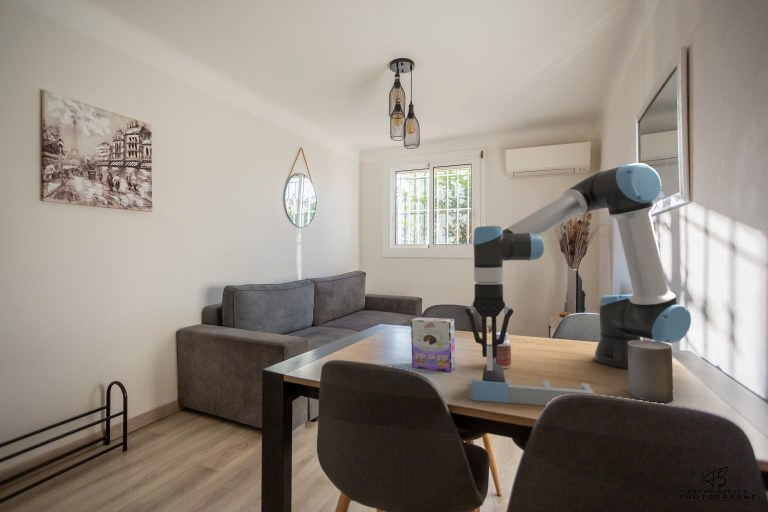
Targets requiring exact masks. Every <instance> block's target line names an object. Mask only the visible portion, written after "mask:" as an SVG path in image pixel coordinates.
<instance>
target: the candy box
mask: <svg viewBox="0 0 768 512" xmlns="http://www.w3.org/2000/svg"><path fill="white" fill-rule="evenodd" d="M410 334H411V335H410V336H411V338H410V340H411V365H412V366H411V368H413V369H414V368H415V369H422V370H424V369H425V370H431V371H432V370H433V371H443V372H452V371H453V370H454V369H455V368H456V341H455V339H456V338H455V337H456V336H455V335H456V333H455V319H454V318H438V317H421V316H418V317H414V318H412V319H411V320H410Z"/></svg>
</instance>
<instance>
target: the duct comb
mask: <svg viewBox="0 0 768 512" xmlns="http://www.w3.org/2000/svg"><path fill="white" fill-rule="evenodd" d="M591 387H592V386H590V384H589V383H585V382H582V383H581V389H577V388H565V387H563V388H562V387H552V386H551V384H550V381H549V380H542V386H539V385H538V386H537V385H536V386H534V385H522V384H513V383H512V378H511V377H505V383H499V382H486V381H482V380H476V375H469V379H468V400H472V401H478V402H479V401H482V402H492V403H493V402H494V403H503V404H509V403H511V404H519V405H520V404H523V405H531V406H533V405H534V406H545V405H546V404H547V403H548V402H549V401H551V400H552V399H553V398H555V397H557V396H560V395H565V394H595V393H596V392H595V391H594V390H593V389H592V388H591ZM595 395H596V394H595Z"/></svg>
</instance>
